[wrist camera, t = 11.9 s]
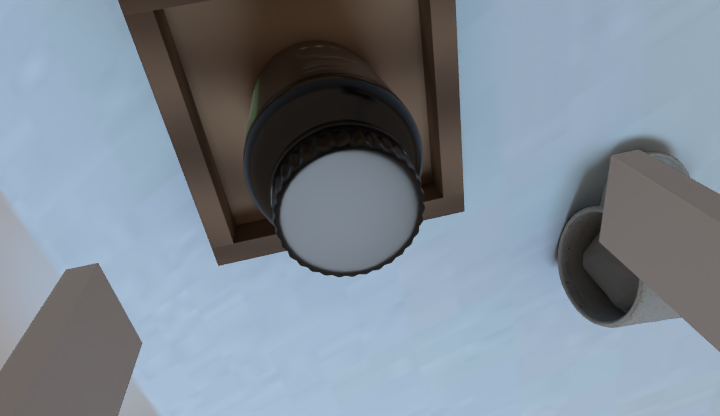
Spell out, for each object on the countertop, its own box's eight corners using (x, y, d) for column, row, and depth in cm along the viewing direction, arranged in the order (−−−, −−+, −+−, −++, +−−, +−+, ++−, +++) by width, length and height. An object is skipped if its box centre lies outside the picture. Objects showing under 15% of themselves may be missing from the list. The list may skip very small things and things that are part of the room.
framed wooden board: (72, -162, 19) (40, -181, 16) (428, -215, 20) (452, -242, 17) (219, 242, 29) (214, 271, 26) (452, 192, 30) (469, 214, 27)
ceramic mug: (640, 273, 36) (724, 343, 30) (545, 279, 35) (611, 353, 28) (692, 145, 31) (807, 193, 25) (585, 145, 30) (676, 196, 23)
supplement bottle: (222, 102, 24) (185, 217, 13) (320, 6, 22) (365, 52, 12) (313, 187, 27) (341, 334, 16) (404, 108, 25) (497, 214, 15)
